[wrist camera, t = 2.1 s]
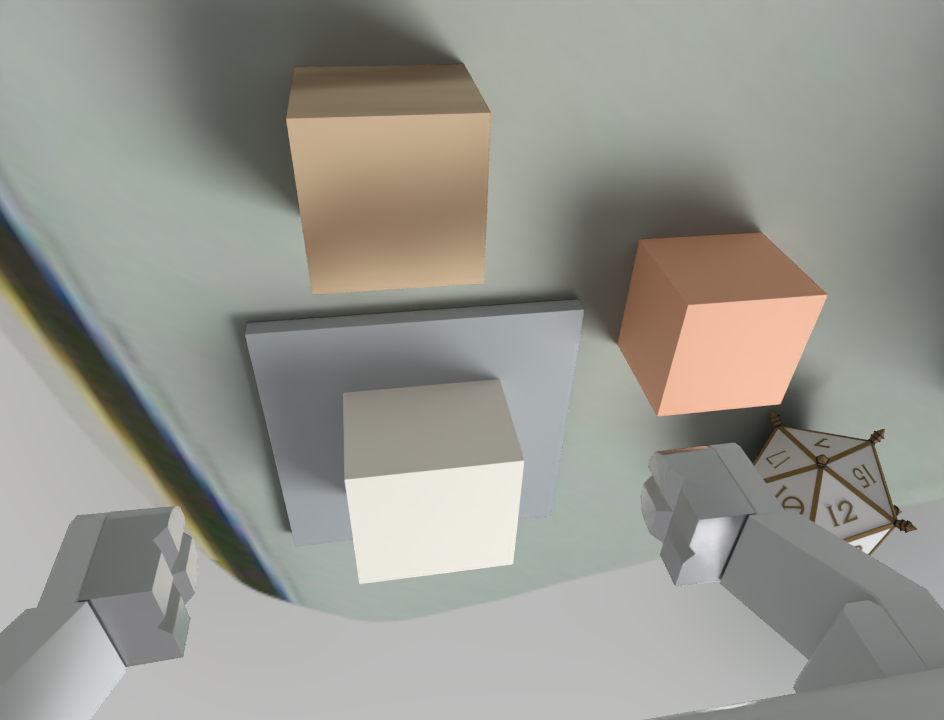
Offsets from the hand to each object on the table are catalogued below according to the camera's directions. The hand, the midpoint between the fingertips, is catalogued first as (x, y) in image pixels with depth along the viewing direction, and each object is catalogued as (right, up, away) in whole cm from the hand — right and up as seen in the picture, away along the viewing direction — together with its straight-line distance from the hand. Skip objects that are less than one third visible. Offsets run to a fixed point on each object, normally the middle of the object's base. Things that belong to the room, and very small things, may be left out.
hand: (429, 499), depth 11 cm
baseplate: (-2, -1, +21) cm, 21 cm away
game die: (+18, -2, +26) cm, 32 cm away
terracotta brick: (+10, +6, +18) cm, 21 cm away
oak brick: (-2, +10, +12) cm, 16 cm away
